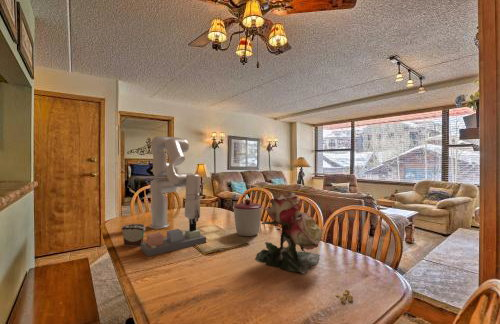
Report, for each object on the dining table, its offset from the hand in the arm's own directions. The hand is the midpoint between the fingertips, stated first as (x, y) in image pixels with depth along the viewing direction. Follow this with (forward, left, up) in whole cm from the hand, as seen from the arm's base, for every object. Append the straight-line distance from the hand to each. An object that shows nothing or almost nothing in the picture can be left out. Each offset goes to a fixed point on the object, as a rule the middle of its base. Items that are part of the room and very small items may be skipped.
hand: (192, 230), depth 131 cm
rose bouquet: (+49, +25, -6) cm, 55 cm away
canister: (+8, +32, -6) cm, 34 cm away
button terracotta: (0, -20, -3) cm, 20 cm away
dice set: (+80, +15, -7) cm, 82 cm away
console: (0, -10, -6) cm, 12 cm away
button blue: (0, -10, -3) cm, 11 cm away
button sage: (0, 0, -5) cm, 5 cm away
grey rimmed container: (-15, -25, -6) cm, 30 cm away
